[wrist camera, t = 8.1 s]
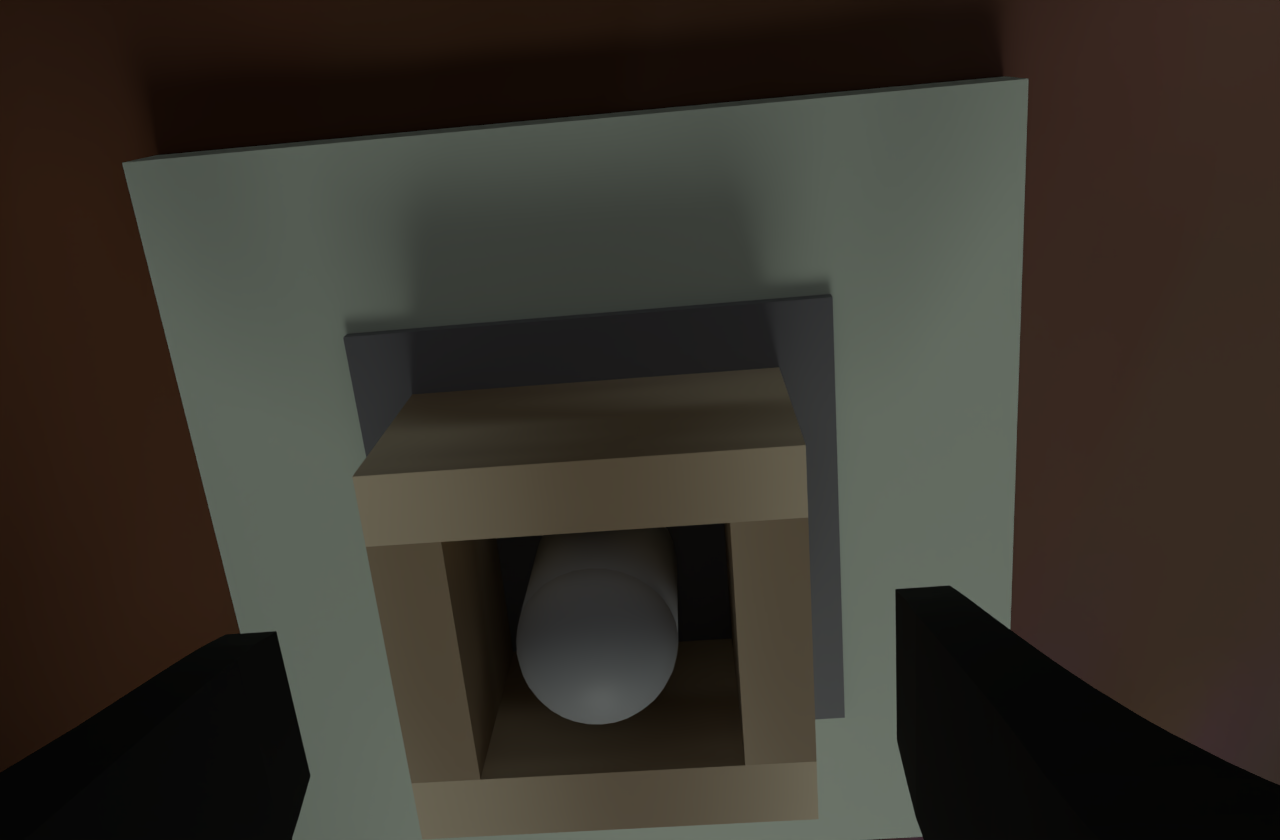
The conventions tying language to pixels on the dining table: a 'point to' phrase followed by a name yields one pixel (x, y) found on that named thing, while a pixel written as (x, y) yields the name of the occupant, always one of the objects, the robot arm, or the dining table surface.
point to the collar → (590, 502)
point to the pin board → (606, 350)
